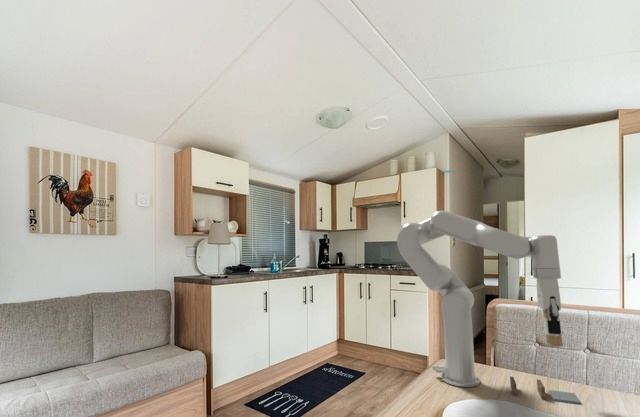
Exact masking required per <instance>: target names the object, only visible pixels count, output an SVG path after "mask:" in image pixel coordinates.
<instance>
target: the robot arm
mask: <svg viewBox="0 0 640 417" xmlns="http://www.w3.org/2000/svg"><path fill="white" fill-rule="evenodd" d="M443 236H446V237H450V238H453V239H456V240H458V241H462V242H464V243H467V244H469V245H472V246H474V247H475V246H476V247H479V248H483V249H485V250H488V251H491V252H494V253H497V254H499V255H502V256H506V257H508V258H511V259H515V260H521V259H523V258H527V257H528V258H529V257H530V258H531V265H532V275H533V279H536V296H537V297H536V298H537V306H538V308H540V309H541V310H542V311H543V310H544V311H545V310H546V309H547V313H548V320H547V321H548V331H549V333H550V334H562V327H561V328H560V326H561V321H559V319H560V313H559V314H558V312H559V311H561V309H562V303H561V293H560V287H559V279H562V276H561V275H562V274H561V266H560V258H559V256H560V255H559V247H558V239H557V237H556V236H555V235H552V234H551V235H550V234H547V235H546V234H544V235H543V234H541V235H532V236H521V235H517V234H515V233H511V232H509V231H505V230H502V229H499V228H496V227H493V226H491V225H490V226H489V225H487V224H485V223H484V222H481V221H479V220H475V219H472V218H469V217H466V216H462V215H459V214H457V213H453V212H450V211H448V210H442V209H441V210H438V211H435V212H434V213H433V214H432V215H431V216H430V218H428V219H425V220H423V221H421V222H419V223H418V222H408V223H405V224H404V225H403V226H402V227H401V228H400V229H399V232H398V233H397V238H396V243H397V244H396V245H397V249H398V251H399V254H400V255H401V257H402V258H403V259H404V261H405V263H406V264H408V266H409V267H410V268H411V269H412V271H413V272H414V273H415V274H416V276H418V277H419V279H420V280H421V281H422V283H424V285H425V286H426V287H427V288H428V289H429V290H431V291H433V292H438V293H439V294H440V295H441V296H442V300H441V310H442V312H441V313H442V318H443V320H442V321H443V334H444V355H445V358H444V359H445V362H444V365H443V364H441V365H438V364H437V365H436V364H433V365H432V371H434V372H435V373H436V374H437V373H439V374H441V375H440V376H441V380H442V381H443V382H445V383H447V384H448V385H452V386H454V387H455V386H456V387H461V388H472V387H476V386H479V385H480V383H481V379H480V377H479V376H477V375H476V372H475V369H476V368H475V352H474V351H475V350H474V348H475V347H474V335H473V334H474V333H473V319H472V308H473V307H474V304H475V297H474V294H473V293H472V291H471V289H470V288H468V287H467V285H466V284H465V283H464V282H463V281H462V279H460V278H459V277H458V276H457V275H456V273H455V272H454V271H453V270H452V269H451V268H450V267H449V266H446V265H444V264H441V263H440V264H439V263H438V262H437V261H436V260H435V259H434V258H433V257H432V256H431V254H430V253H429V252H428V251H427V250H426V249H425V248H424V247H423V246H422V245H424V244H427V243H429V242H431V241H432V242H433V241H434V240H436V239H439V238H441V237H443ZM557 305H558V307H559V308H557ZM549 308H552V310H549ZM550 312H552V313H551V314H550ZM550 315H551V316H550Z"/></svg>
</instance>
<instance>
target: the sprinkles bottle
mask: <svg viewBox="0 0 640 417" xmlns="http://www.w3.org/2000/svg"><path fill="white" fill-rule="evenodd" d="M557 308H559V307H558V305H557ZM549 310H552V308H549ZM542 313H543V325H544V334H545V341H546V342H545V344H546V345H547V346H550V347H553V348H555V347H556V348H559V347H563V345H564V344H563V339H562V333H561V334H550V333H549V331H548V321H547V320H548V313H547V309H546V310H545V311H544V310H542ZM551 313H552V312H550V314H551ZM558 314H559V315H560V313H559V311H558ZM550 316H551V315H550ZM560 320H561V319H560V318H559V321H560ZM560 322H561V321H560ZM560 328H561V329H562V326H561V325H560Z"/></svg>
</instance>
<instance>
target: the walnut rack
mask: <svg viewBox="0 0 640 417" xmlns="http://www.w3.org/2000/svg"><path fill="white" fill-rule="evenodd" d="M509 381H510V382H509V384H510V389H511V392H512V395H513V396H514V397H515V396H516V397H517V396H518V392H517V383H516V380H515V377H514V376H509ZM536 390H537V393H538V395H539V396H540V398H541V400H545V401H546V400H547V399H546V387H545V385H544V383H543V382H542V380H541V379H539V378H537V379H536Z"/></svg>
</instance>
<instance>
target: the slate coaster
mask: <svg viewBox="0 0 640 417" xmlns="http://www.w3.org/2000/svg"><path fill="white" fill-rule="evenodd" d="M547 390H548V391H547V392H548V394H549V395H550V397H551V398H552V401H554V402H561V403H568V404H577V405H582V402H581V400H580V399H579V397H577V395H576V393H574V392H568V391H560V390H551V389H547Z"/></svg>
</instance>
